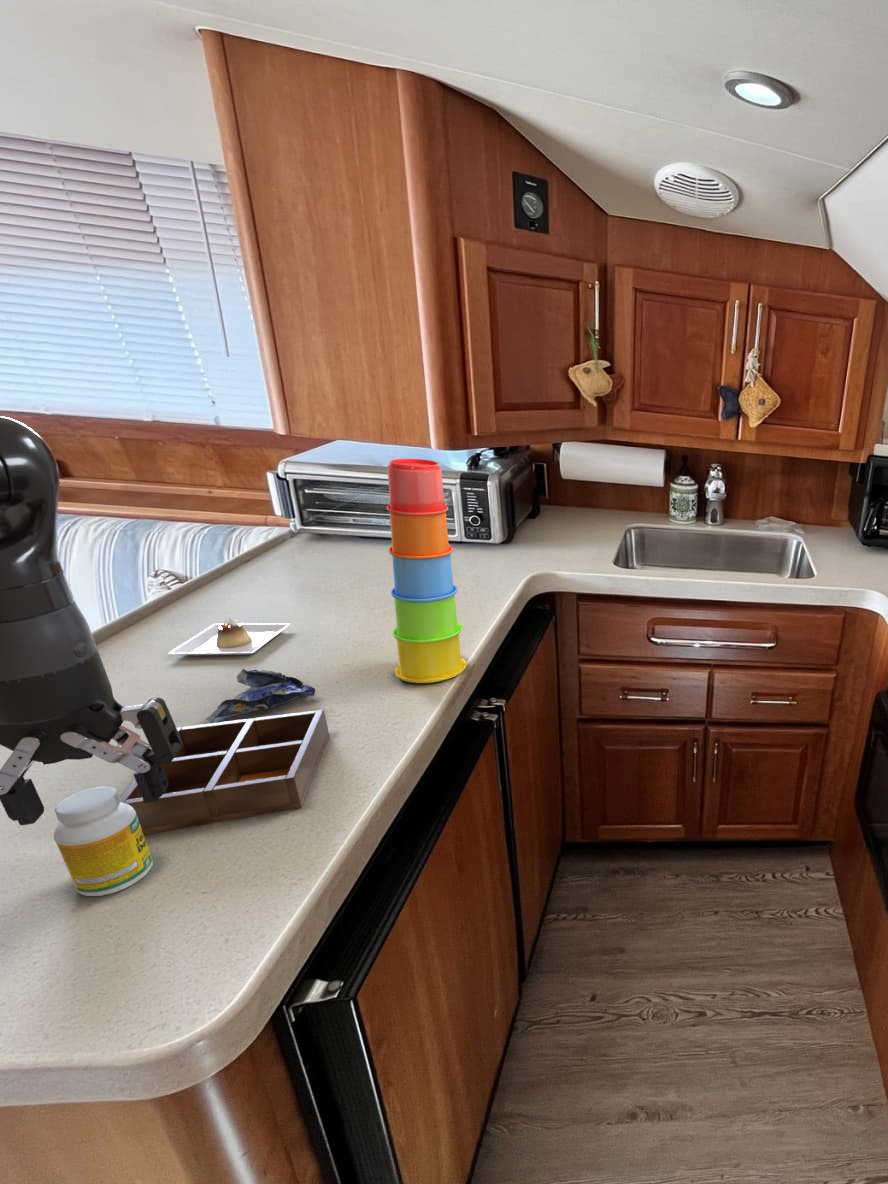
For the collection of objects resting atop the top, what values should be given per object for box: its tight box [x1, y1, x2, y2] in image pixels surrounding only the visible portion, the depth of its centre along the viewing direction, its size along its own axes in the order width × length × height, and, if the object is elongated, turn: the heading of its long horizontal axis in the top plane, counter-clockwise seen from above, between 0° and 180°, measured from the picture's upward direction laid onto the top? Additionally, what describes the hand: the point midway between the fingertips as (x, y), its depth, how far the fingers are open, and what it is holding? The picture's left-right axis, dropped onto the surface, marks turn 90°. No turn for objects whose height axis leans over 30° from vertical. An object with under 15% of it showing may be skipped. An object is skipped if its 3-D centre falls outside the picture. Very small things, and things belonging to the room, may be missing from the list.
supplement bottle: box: [53, 786, 154, 897], centre depth 61 cm, size 5×5×10 cm
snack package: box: [203, 668, 316, 724], centre depth 92 cm, size 12×6×12 cm
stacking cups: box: [386, 458, 467, 684], centre depth 99 cm, size 10×10×35 cm
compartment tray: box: [119, 709, 330, 836], centre depth 77 cm, size 15×15×4 cm
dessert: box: [166, 617, 292, 657], centre depth 107 cm, size 12×12×5 cm
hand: (95, 808), depth 60 cm, fingers open, 8 cm apart
